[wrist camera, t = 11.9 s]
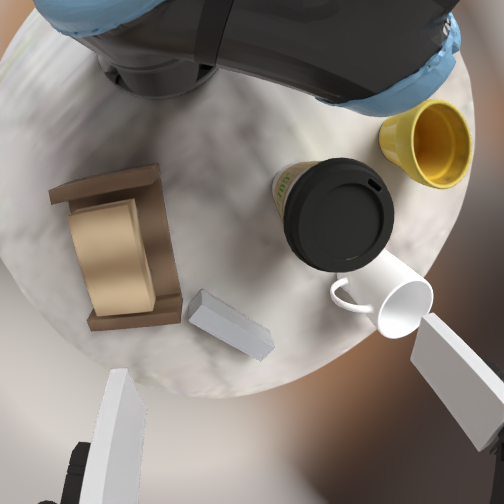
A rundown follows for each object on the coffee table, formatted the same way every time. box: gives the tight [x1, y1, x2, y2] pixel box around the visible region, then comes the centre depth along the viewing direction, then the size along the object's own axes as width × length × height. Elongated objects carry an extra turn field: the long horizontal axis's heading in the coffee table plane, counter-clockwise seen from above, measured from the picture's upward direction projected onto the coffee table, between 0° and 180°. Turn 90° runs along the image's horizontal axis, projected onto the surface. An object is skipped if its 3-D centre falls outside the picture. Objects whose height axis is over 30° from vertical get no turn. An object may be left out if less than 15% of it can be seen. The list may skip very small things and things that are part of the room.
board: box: [67, 199, 156, 316], centre depth 31 cm, size 12×7×3 cm, turn 5°
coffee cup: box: [272, 158, 394, 273], centre depth 30 cm, size 10×10×15 cm
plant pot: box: [379, 99, 472, 189], centre depth 31 cm, size 10×10×10 cm
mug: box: [330, 248, 433, 338], centre depth 37 cm, size 12×8×12 cm
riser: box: [188, 289, 275, 361], centre depth 40 cm, size 12×3×4 cm, turn 50°
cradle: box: [49, 163, 183, 331], centre depth 34 cm, size 18×12×6 cm, turn 6°
